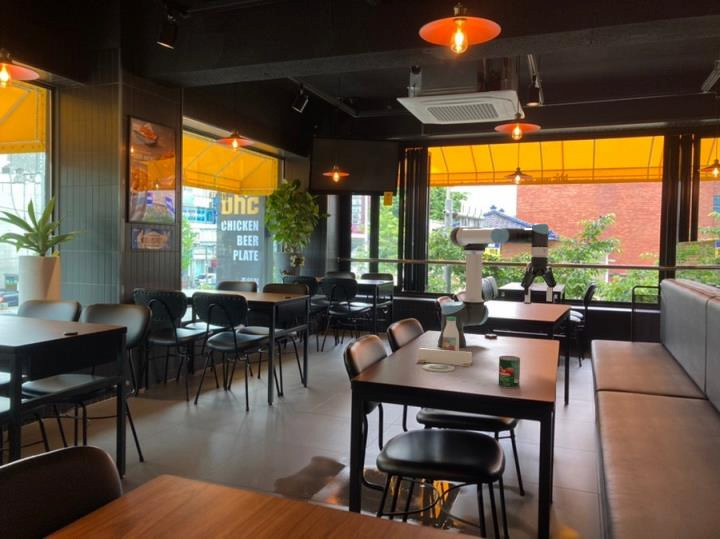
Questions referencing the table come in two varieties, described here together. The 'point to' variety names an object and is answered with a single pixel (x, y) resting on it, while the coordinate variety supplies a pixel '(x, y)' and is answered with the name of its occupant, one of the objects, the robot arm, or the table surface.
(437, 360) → the low wall
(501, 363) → the canned tomato
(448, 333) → the milk bottle
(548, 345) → the table surface
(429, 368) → the coaster pad
